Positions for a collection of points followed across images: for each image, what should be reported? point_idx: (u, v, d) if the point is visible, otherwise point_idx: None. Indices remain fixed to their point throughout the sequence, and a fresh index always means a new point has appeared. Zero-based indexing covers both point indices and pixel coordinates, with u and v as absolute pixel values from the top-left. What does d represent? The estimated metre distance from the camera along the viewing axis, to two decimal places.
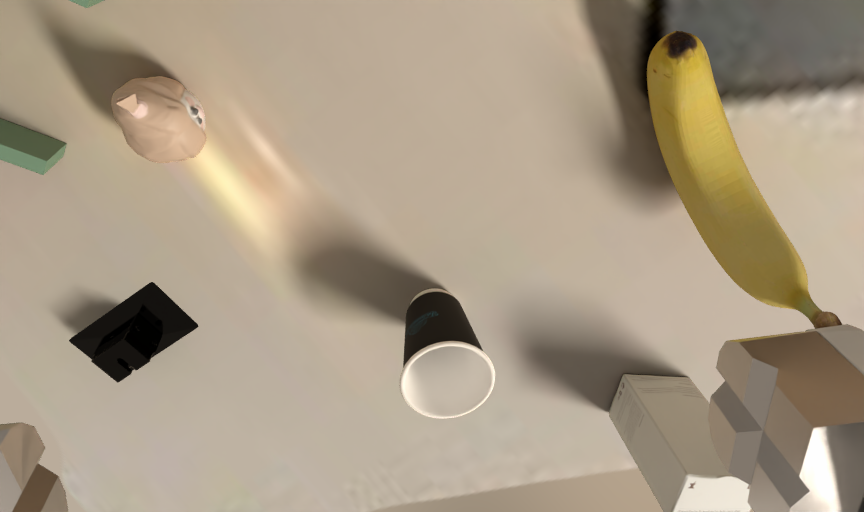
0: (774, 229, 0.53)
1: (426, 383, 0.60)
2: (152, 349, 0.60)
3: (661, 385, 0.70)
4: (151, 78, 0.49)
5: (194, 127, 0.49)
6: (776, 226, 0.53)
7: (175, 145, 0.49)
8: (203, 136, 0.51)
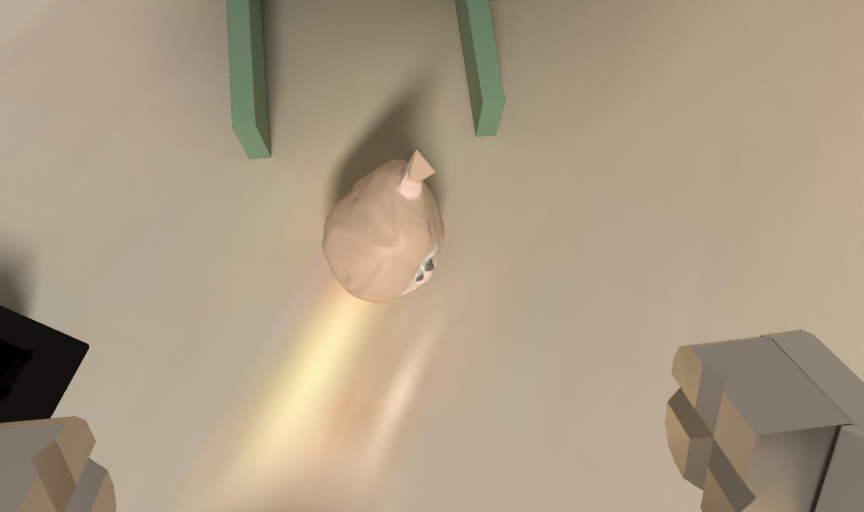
0: None
1: None
2: None
3: None
4: None
5: (411, 271, 0.32)
6: None
7: (378, 255, 0.32)
8: (399, 292, 0.33)
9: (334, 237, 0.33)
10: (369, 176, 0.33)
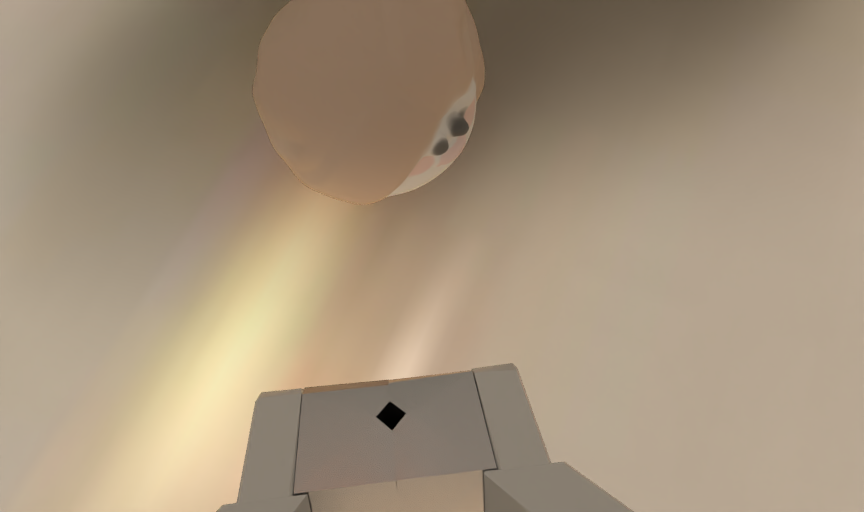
0: None
1: None
2: None
3: None
4: None
5: (425, 129, 0.16)
6: None
7: (357, 88, 0.15)
8: (400, 174, 0.17)
9: (271, 63, 0.17)
10: None
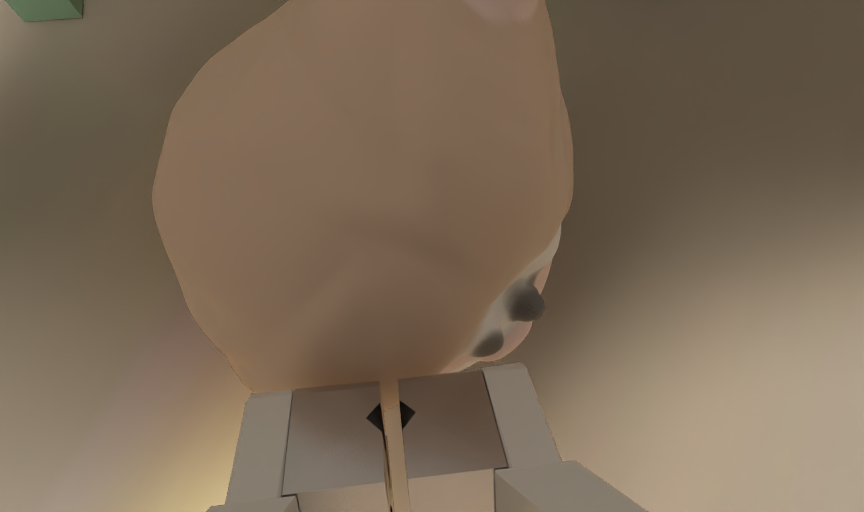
0: None
1: None
2: None
3: None
4: None
5: (464, 322, 0.08)
6: None
7: (329, 244, 0.07)
8: None
9: (177, 162, 0.09)
10: None
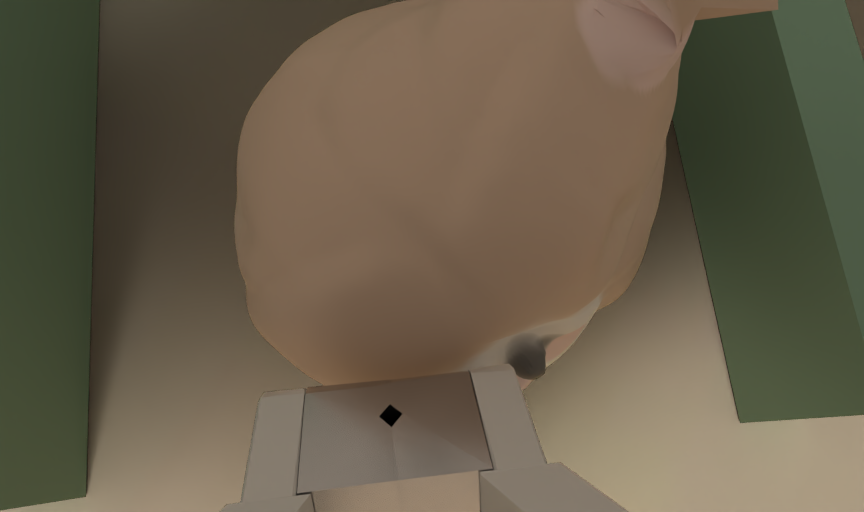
0: None
1: None
2: None
3: None
4: None
5: (455, 346, 0.08)
6: None
7: (363, 214, 0.07)
8: None
9: (278, 88, 0.09)
10: None
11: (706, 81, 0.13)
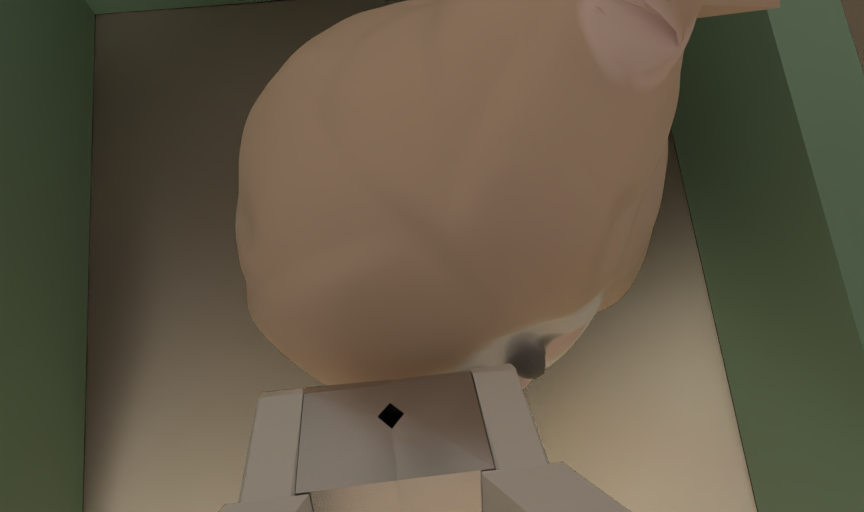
0: None
1: None
2: None
3: None
4: None
5: (454, 344, 0.08)
6: None
7: (363, 209, 0.07)
8: None
9: (281, 85, 0.09)
10: None
11: (735, 213, 0.12)
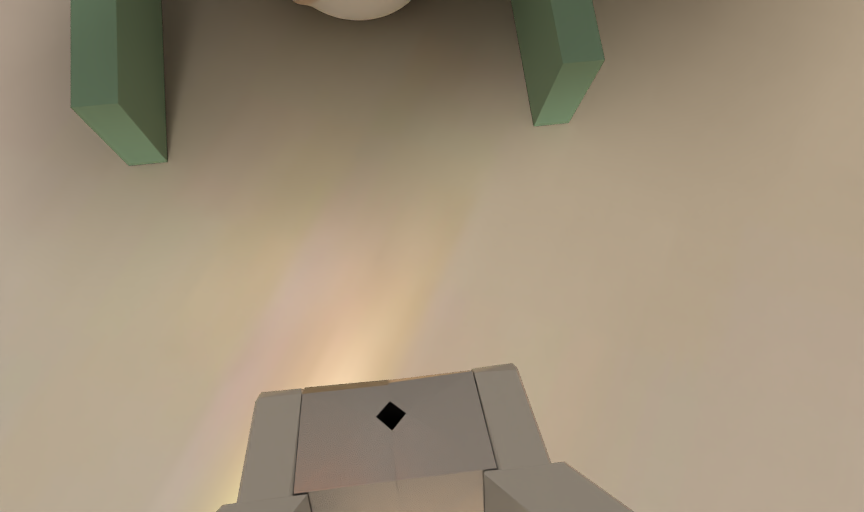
0: None
1: None
2: None
3: None
4: None
5: None
6: None
7: None
8: None
9: None
10: None
11: None
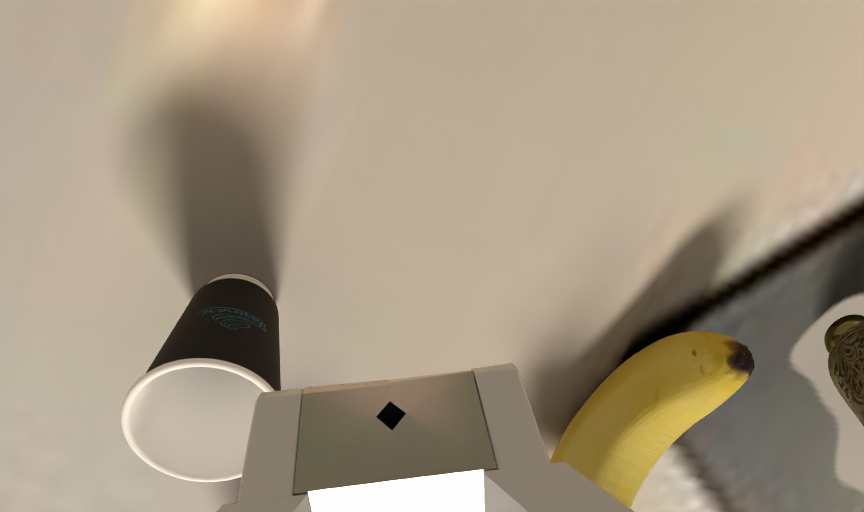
0: None
1: (156, 386, 0.36)
2: None
3: None
4: None
5: None
6: None
7: None
8: None
9: None
10: None
11: None
